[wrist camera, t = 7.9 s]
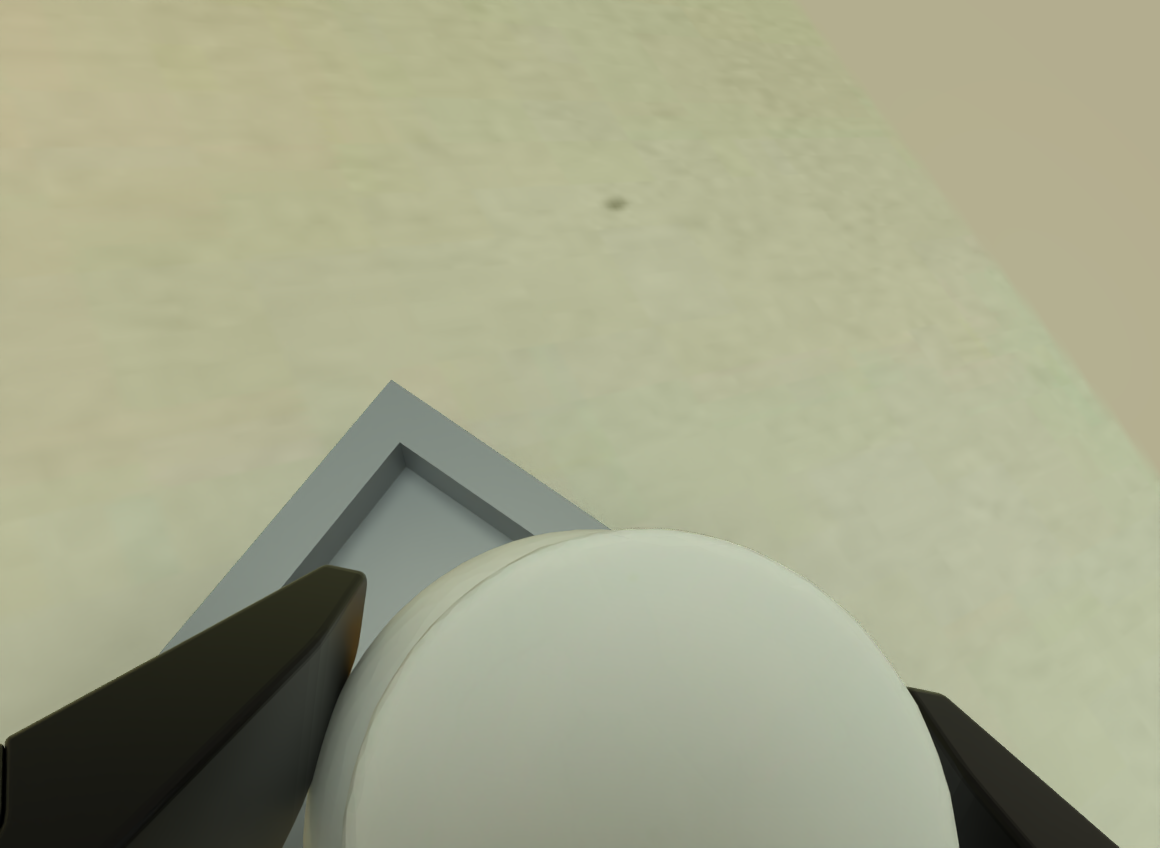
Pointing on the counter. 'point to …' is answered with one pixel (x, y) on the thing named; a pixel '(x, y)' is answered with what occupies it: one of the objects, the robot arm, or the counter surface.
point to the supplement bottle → (626, 710)
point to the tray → (391, 518)
